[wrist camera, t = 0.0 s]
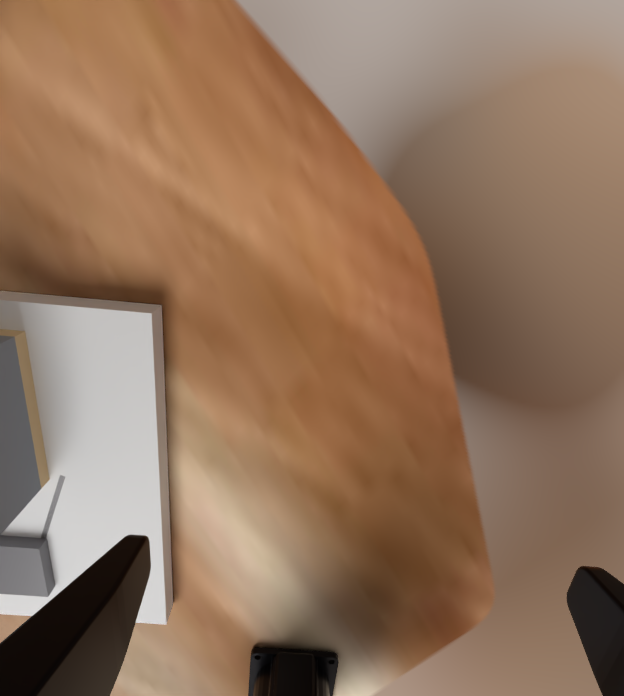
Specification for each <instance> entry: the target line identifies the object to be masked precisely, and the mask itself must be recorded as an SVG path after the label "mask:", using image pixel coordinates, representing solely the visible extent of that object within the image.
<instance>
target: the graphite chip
mask: <svg viewBox="0 0 624 696" xmlns="http://www.w3.org/2000/svg"><path fill="white" fill-rule="evenodd" d="M54 587H55V580H54V575H53V569H52V564H51V558H50V552H49V547H48V541H47V538H34V537H20V536H6V535H0V594H10V595H25V596H40V597H49V595H50V593H51V592H52V590H53V589H54Z"/></svg>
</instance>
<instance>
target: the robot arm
mask: <svg viewBox="0 0 624 696" xmlns="http://www.w3.org/2000/svg"><path fill="white" fill-rule="evenodd" d="M150 570H151V558H150V542H149V538H148V537H147V536H145V535H133V534H130V535H127V536H125V537H124V538H123V539H121V540H120V541H119V542H118V543H117V544H116V545H114V546H113V547H112V548H111V549H110V550H109V551H107V552H106V553H105V554H104V555H103V556H102V557H100V558H99V559H98V560H97V561H96V562H95V563H93V564H92V565H91V566H90V567H89V568H88V569H86V570H85V571H84V572H83V573H82V574H81V575H79V576H78V577H77V578H76V579H75V580H74V581H72V582H71V583H70V584H69V585H68V586H67V587H65V588H64V589H63V590H62V591H61V592H60V593H58V594H57V595H56V596H55V597H54V598H53V599H51V600H50V601H49V602H48V603H47V604H46V605H44V606H43V607H42V608H41V609H40V610H39V611H37V612H36V613H35V614H34V615H33V616H32V617H30V618H29V619H28V620H27V621H26V622H25V623H23V624H22V625H21V626H20V627H19V628H18V629H16V630H15V631H14V632H13V633H12V634H11V635H9V636H8V637H7V638H6V639H5V640H4V641H2V642H1V643H0V696H110V694H111V691H112V689H113V686H114V684H115V681H116V679H117V676H118V674H119V671H120V669H121V666H122V664H123V661H124V658H125V655H126V652H127V649H128V645H129V642H130V639H131V636H132V632H133V629H134V626H135V622H136V619H137V616H138V612H139V609H140V606H141V602H142V599H143V596H144V593H145V589H146V586H147V583H148V579H149V575H150ZM567 603H568V607H569V610H570V613H571V615H572V618H573V620H574V623H575V626H576V628H577V631H578V634H579V636H580V639H581V641H582V644H583V647H584V649H585V652H586V655H587V657H588V660H589V663H590V665H591V668H592V671H593V673H594V676H595V678H596V680H597V683H598V685H599V688H600V690H601V692H602V695H603V696H624V584H623V583H621V582H620V581H619V580H617V579H616V578H615V577H613V576H612V575H611V574H609V573H608V572H607V571H605V570H604V569H602V568H599V567H589V566H581V567H580V568H578V570H577V571H576V574H575V576H574V578H573V580H572V582H571V585H570V587H569V589H568V592H567ZM337 667H338V655H337V653H335V652H325V651H309V650H292V649H276V648H260V647H257V648H254V649H252V651H251V662H250V678H249V694H248V696H332V695H333V689H334V684H335V678H336V673H337Z"/></svg>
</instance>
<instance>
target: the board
mask: <svg viewBox="0 0 624 696" xmlns="http://www.w3.org/2000/svg"><path fill="white" fill-rule="evenodd" d="M0 329H6V330H18V331H25V333H26V339H27V345H28V351H29V357H30V363H31V369H32V375H33V381H34V388H35V394H36V400H37V406H38V412H39V418H40V424H41V430H42V436H43V442H44V448H45V454H46V460H47V466H48V472H49V478H50V480H49V481H48V482H47V483H46V484H45V485H44V486H43V487H42V489H41V490H40V491H39V492H38V493H37V494H36V495H35V497H34V498H33V499H32V500H31V501H30V502H29V503H28V504H27V506H26V507H25V508H24V509H23V510H22V511H21V512H20V514H19V515H18V516H17V517H16V518H15V519H14V520H13V521H12V523H11V524H10V525H9V526H8V527H7V528H6V529H5V531H4V532H3V533H2V534H1V535H6V536H20V537H34V538H47V541H48V547H49V552H50V558H51V564H52V569H53V575H54V580H55V587H54V589H53V590H52V592H51V593H50V595H49V597H40V596H25V595H10V594H0V614H8V615H24V616H33V615H34V614H35V613H36V612H37V611H39V610H40V609H41V608H42V607H43V606H44V605H46V604H47V603H48V602H49V601H50V600H51V599H53V598H54V597H55V596H56V595H57V594H58V593H60V592H61V591H62V590H63V589H64V588H65V587H67V586H68V585H69V584H70V583H71V582H72V581H74V580H75V579H76V578H77V577H78V576H79V575H81V574H82V573H83V572H84V571H85V570H86V569H88V568H89V567H90V566H91V565H92V564H93V563H95V562H96V561H97V560H98V559H99V558H100V557H102V556H103V555H104V554H105V553H106V552H107V551H109V550H110V549H111V548H112V547H113V546H114V545H116V544H117V543H118V542H119V541H120V540H121V539H123V538H124V537H125V536H127V535H130V534H133V535H145V536H147V537H148V538H149V542H150V558H151V570H150V575H149V579H148V583H147V586H146V589H145V593H144V596H143V599H142V602H141V606H140V609H139V612H138V616H137V619H136V622H135V623H151V624H167V621H168V618H169V615H170V612H171V609H172V606H173V585H172V559H171V533H170V507H169V481H168V454H167V428H166V402H165V376H164V350H163V323H162V305H156V304H145V303H134V302H122V301H111V300H100V299H89V298H78V297H66V296H55V295H44V294H33V293H22V292H10V291H0Z"/></svg>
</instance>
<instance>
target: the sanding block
mask: <svg viewBox="0 0 624 696" xmlns="http://www.w3.org/2000/svg"><path fill="white" fill-rule="evenodd" d="M49 480H50V478H49V472H48V466H47V460H46V454H45V448H44V442H43V436H42V430H41V424H40V418H39V412H38V406H37V400H36V394H35V388H34V381H33V375H32V369H31V363H30V357H29V351H28V345H27V339H26V333H25V331H18V330H6V329H0V535H1V534H2V533H3V532H4V531H5V529H6V528H7V527H8V526H9V525H10V524H11V523H12V521H13V520H14V519H15V518H16V517H17V516H18V515H19V514H20V512H21V511H22V510H23V509H24V508H25V507H26V506H27V504H28V503H29V502H30V501H31V500H32V499H33V498H34V497H35V495H36V494H37V493H38V492H39V491H40V490H41V489H42V487H43V486H44V485H45V484H46V483H47V482H48V481H49Z"/></svg>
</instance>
